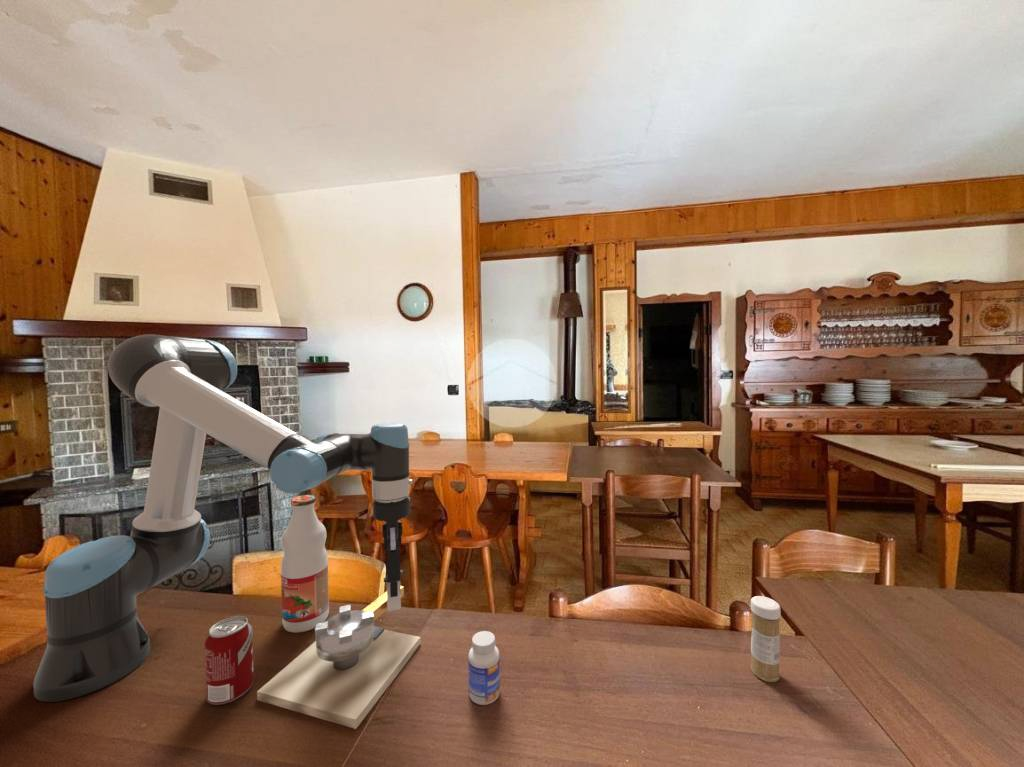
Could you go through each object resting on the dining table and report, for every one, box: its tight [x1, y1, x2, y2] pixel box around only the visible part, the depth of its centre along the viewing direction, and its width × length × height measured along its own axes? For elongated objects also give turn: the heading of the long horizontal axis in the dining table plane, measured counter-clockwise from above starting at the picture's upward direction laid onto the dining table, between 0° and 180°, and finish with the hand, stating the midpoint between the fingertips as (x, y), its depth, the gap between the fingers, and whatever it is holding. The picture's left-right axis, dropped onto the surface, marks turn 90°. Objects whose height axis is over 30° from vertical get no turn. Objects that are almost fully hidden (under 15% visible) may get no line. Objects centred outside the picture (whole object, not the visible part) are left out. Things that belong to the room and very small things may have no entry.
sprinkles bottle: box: [750, 595, 781, 683], centre depth 72 cm, size 5×5×13 cm
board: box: [256, 625, 422, 730], centre depth 74 cm, size 20×20×5 cm
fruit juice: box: [280, 494, 330, 633], centre depth 89 cm, size 9×9×28 cm
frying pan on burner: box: [314, 585, 405, 662], centre depth 79 cm, size 21×10×4 cm, turn 159°
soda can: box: [204, 615, 255, 706], centre depth 69 cm, size 7×7×12 cm
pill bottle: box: [467, 630, 501, 706], centre depth 68 cm, size 5×5×10 cm
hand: (394, 608), depth 83 cm, fingers closed
